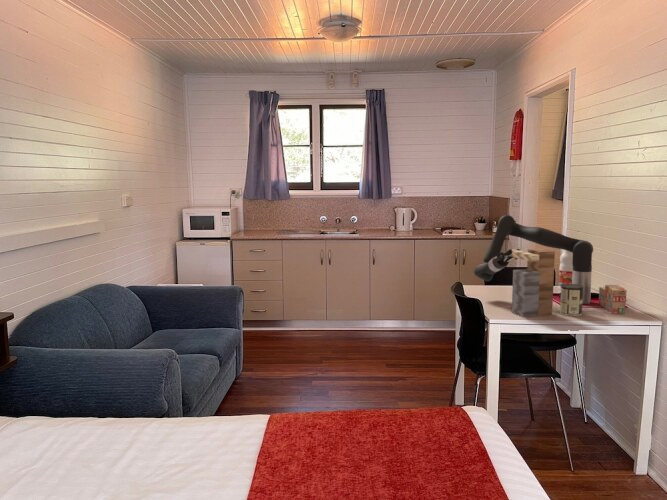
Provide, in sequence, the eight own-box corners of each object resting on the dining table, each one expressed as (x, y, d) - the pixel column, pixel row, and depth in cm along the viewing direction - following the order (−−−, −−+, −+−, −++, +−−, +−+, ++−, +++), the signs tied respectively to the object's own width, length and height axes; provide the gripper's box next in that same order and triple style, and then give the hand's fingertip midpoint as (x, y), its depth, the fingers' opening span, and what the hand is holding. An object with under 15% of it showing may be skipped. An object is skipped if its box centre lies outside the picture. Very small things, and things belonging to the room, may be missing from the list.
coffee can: (571, 310, 263) (573, 283, 261) (586, 315, 253) (588, 287, 251) (554, 311, 260) (556, 284, 258) (569, 316, 250) (570, 288, 249)
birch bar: (539, 261, 246) (539, 255, 245) (531, 261, 245) (532, 255, 244) (514, 255, 265) (514, 249, 265) (507, 255, 264) (507, 249, 264)
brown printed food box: (598, 303, 276) (599, 281, 274) (610, 304, 275) (612, 281, 273) (611, 313, 255) (613, 289, 254) (625, 314, 254) (626, 289, 252)
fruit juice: (578, 290, 309) (581, 243, 305) (569, 292, 304) (571, 245, 300) (564, 287, 317) (566, 242, 313) (555, 289, 312) (557, 243, 308)
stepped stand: (552, 315, 254) (554, 251, 250) (523, 317, 250) (526, 252, 246) (539, 310, 264) (541, 248, 259) (511, 312, 260) (513, 250, 255)
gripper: (484, 256, 276) (501, 244, 260) (508, 255, 279) (525, 243, 264) (488, 270, 273) (504, 258, 258) (511, 268, 277) (529, 256, 261)
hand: (515, 250), depth 261 cm, fingers closed on birch bar, 4 cm apart
